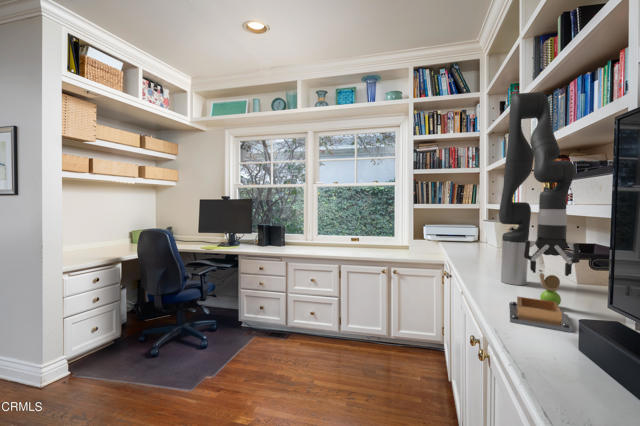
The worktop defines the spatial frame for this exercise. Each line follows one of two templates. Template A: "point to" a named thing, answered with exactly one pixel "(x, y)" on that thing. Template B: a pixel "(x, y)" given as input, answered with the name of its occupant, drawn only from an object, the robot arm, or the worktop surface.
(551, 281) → the snail figurine
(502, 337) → the worktop surface
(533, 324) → the socket plate
